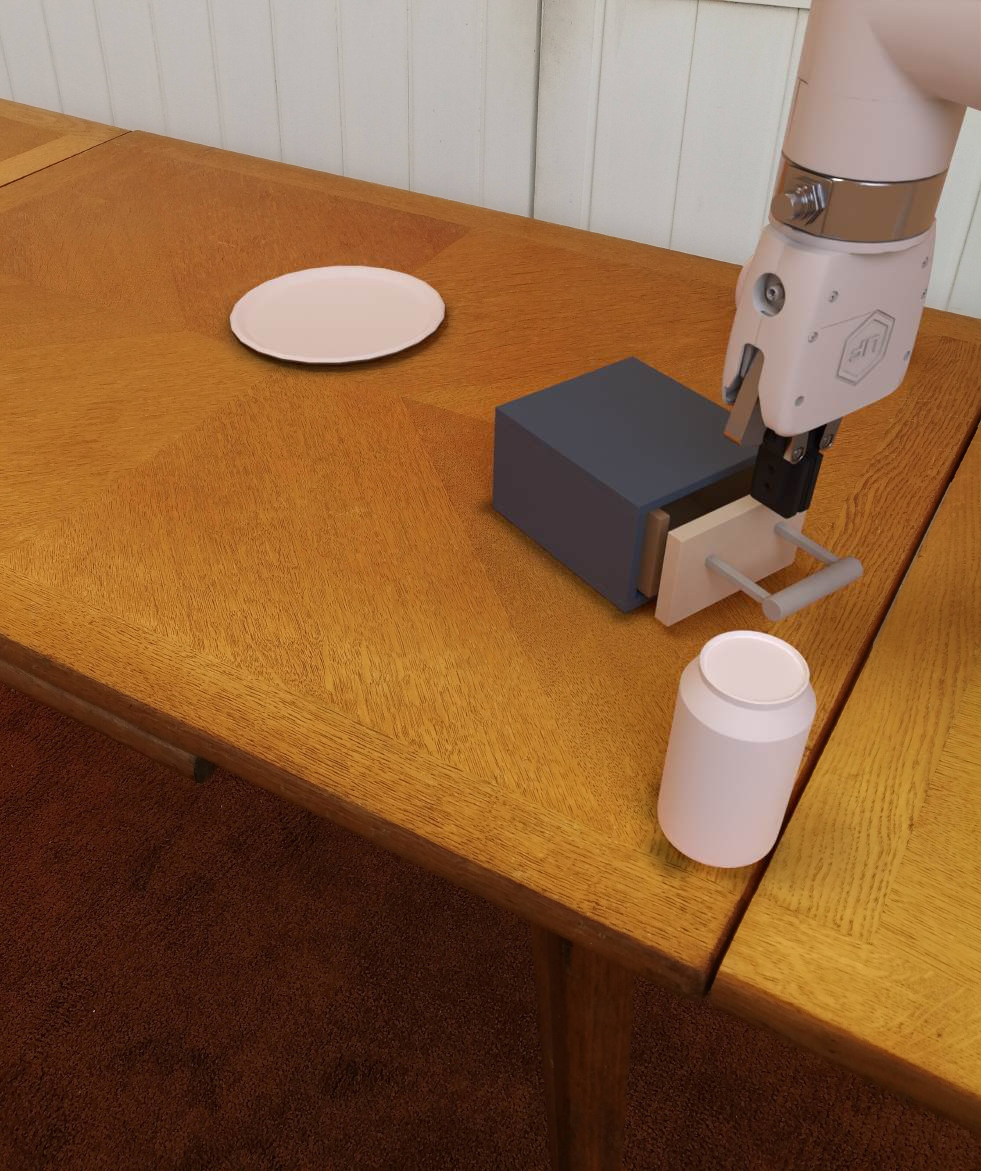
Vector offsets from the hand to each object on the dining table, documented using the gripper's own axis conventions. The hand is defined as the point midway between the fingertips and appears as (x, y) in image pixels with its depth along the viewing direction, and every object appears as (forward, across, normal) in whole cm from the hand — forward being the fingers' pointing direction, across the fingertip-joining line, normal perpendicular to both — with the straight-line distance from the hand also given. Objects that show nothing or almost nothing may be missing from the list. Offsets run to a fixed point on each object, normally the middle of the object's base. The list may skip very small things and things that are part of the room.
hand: (777, 502), depth 64 cm
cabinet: (+9, 0, +12) cm, 15 cm away
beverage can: (+9, -14, -11) cm, 20 cm away
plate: (+10, 0, +53) cm, 54 cm away
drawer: (+8, 0, +5) cm, 10 cm away
